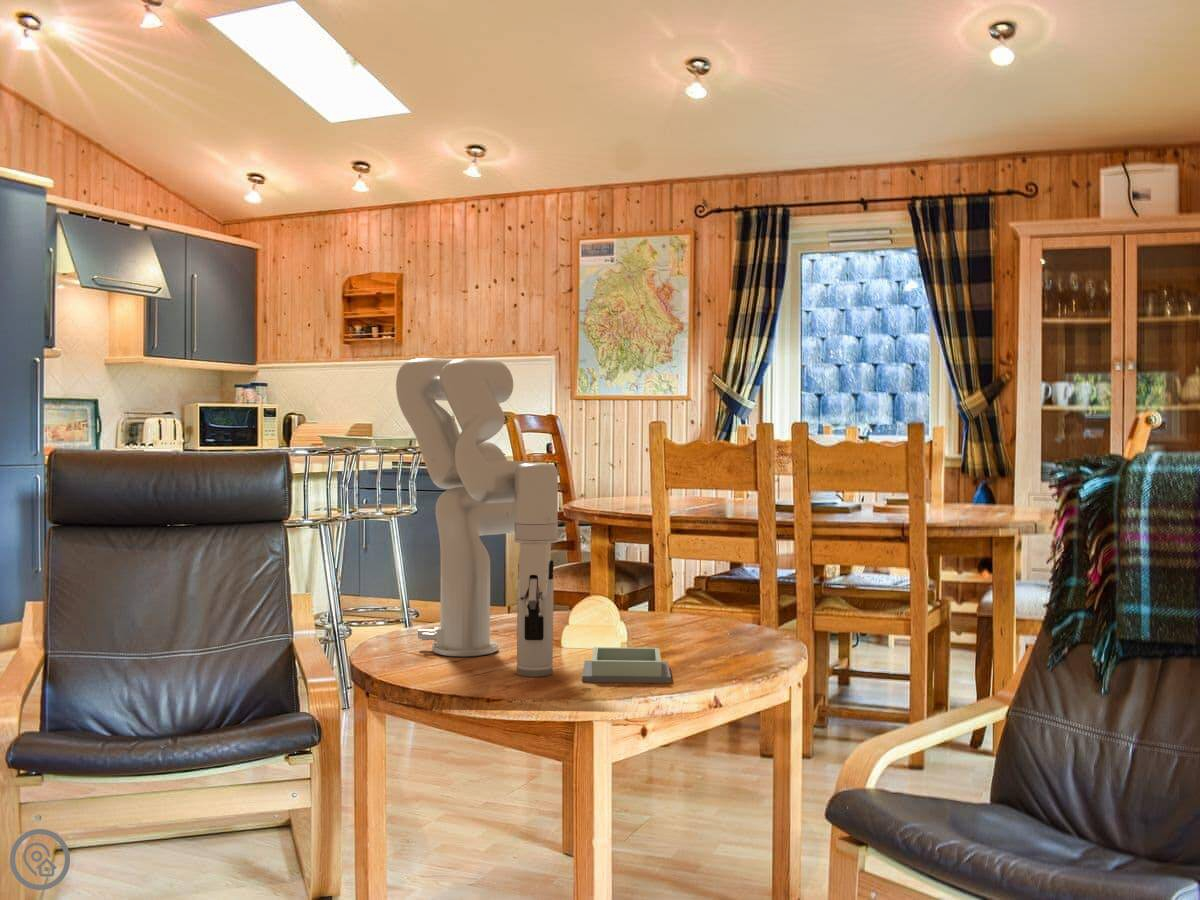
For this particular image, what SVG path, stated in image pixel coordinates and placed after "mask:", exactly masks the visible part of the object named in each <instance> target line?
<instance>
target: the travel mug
mask: <svg viewBox="0 0 1200 900" xmlns="http://www.w3.org/2000/svg"><path fill="white" fill-rule="evenodd" d="M517 566H518V569H517V571H518V572H517V573H518V576H517V577H518V578H517V581H518V582H517V584H518V583H519V563H518V565H517ZM554 581H555V580H554V560H551V564H549V580H548V590H547V597H546V599H544V600H543V602H542V617H544V631H543V640H525V616H526V596H525V597H524V598H521V599H522V600H519V599H518V598H517V610H516V611H517V625H516V631H517V632H516V674H517V675H518V676H520V677H521V676H522V677H527V678H541V677H540V676H543V677H547V675H548V676H550V675H552V674H553V668H554V667H553V666H554V665H553V661H554V659H553V657H554V655H553V653H554V652H553V651H554V650H553V649H554V584H555V583H554ZM537 586H538V583H537ZM526 593H527V592H526ZM536 598H540V595H537V597H536ZM538 605H539V603H538Z"/></svg>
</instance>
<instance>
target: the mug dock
mask: <svg viewBox="0 0 1200 900" xmlns="http://www.w3.org/2000/svg"><path fill="white" fill-rule="evenodd" d="M583 663H584V664H583V669H582V676H581V677H582V678H581V681H585V682H584V683H626V684H627V683H636V684H637V683H639V684H641V683H642V684H643V683H644V684H646V683H647V684H671V683H672V677H671V675H672V674H671V671H670V665H669V662H668V661H666V660H665V661H664V660H662V656H661V651H660V647H618V646H617V647H616V646H615V647H614V646H613V647H609V646H608V647H606V646H605V647H603V646H602V647H601V646H600V647H599V646H598V647H597V646H595V647H594V646H593V650H592V658H591V660H584V662H583Z"/></svg>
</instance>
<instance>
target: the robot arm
mask: <svg viewBox="0 0 1200 900" xmlns="http://www.w3.org/2000/svg"><path fill="white" fill-rule="evenodd" d="M513 390H514V379H513V374H512V373H511V370H510V369H509V367H508V366H507V365H505V363H503V362H501V361H499V360H493V359H492V360H490V359H475V358H459V359H454V358H453V359H451V358H437V357H420V358H414V359H410V360H408V361H405V362H404V363H403V364H402V365H401V366H400V367H399V369H398V372H397V375H396V381H395V391H396V397H397V402H398V405H399V408H400V410H401V413H402V415H403V416H404V419H405V420H406V422H407V423H408V425H409V426H410V428H411V430H412V432H413V434H414V436H415V438H416V441H417V444H418V447H419V450H420V453H421V456H422V459H423V461H424V464H425V467H426V470H427V472H428V474H429V475H428V476H429V477H430V479H431V481H432V484H434V485H435V487H437V488H439V489H443V490H445V491H443V492H442V493H441V494H440V495H439V496H438V498H437V500H436V503H435V520H436V525H437V531H438V536H439V537H438V538H439V548H440V555H439V556H440V614H439V615H440V616H439V617H440V619H439V620H440V621H439V622H440V625H439V626H438V627H434V629H427V628H419V629H418V630H417V639H418V640H421V641H433V642H434V643H433V644H432V646H431V651H432V652H433V653H434V654H437V655H439V656H448V657H477V656H478V657H479V656H486V655H490V654H493V653H496V652H498V650H499V644H498V643H497V641H494V640H490V639H491V637H490V636H491V635H490V634H491V559H490V554H489V552H488V549H487V548H486V547H485V545H484V543H483V542H482V539H481V537H483V536H491V535H505V534H511V533H513V532H514V543H516V544H517V543H518V544H520V545H519V556H518V557H519V558H518V564H519V573H518V574H519V581H518V582H519V583H518V582H517V600H518V599H519V600H522V599H521V598H524V597H525V596H526V616H525V640H543V631H544V617H542V602H543V600H544V599H546V597H547V590H548V580H549V564H551V559H552V558H551V557H552V555H551V553H552V544H555V543H558V535H559V534H558V532H559V531H558V529H559V527H558V526H559V525H558V522H559V521H558V519H559V518H558V517H559V516H558V515H559V514H558V513H559V512H558V511H559V510H558V506H559V505H558V502H559V500H558V499H559V498H558V497H559V496H558V495H559V493H558V492H559V489H558V488H559V487H558V486H559V485H558V484H559V481H558V479H559V476H558V475H559V474H558V468H557V467H556V466H555V465H554V464H553V463H547V462H546V463H545V462H534V461H530V460H507V457H506V455H505V453H504V451H503V450H502V449H501V448H500V447H499V446H498V445H496V444H494V443H492V442H489V441H488V440H491V438H494V436H496V435H497V434H498V433H499V432H500V431H501V430H502V428H503V427H504V425H505V421H506V416H505V412H504V410H503V408H502V407H501V405H500V404H502V403H504V402H506V401H508V400H509V399H510V397H511V396H512V394H513ZM437 401H443V402H444V401H447V402H448V405H449V406H450V408H451V411H452V413H453V415H454V417H455V419H456V420H455V419H454V418H453V416H452V415H451V414H450V413H449V412H448V411H447V410H446V409H445V408H444V407H443V406H441V405H439V403H437ZM456 421H457V422H456ZM457 423H458V424H457ZM458 425H459V427H460V429H461V432H460V431H459V427H458ZM480 536H481V537H480ZM537 583H538V586H537ZM526 592H527V593H526ZM537 595H540V598H536V597H537ZM538 603H539V605H538Z"/></svg>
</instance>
